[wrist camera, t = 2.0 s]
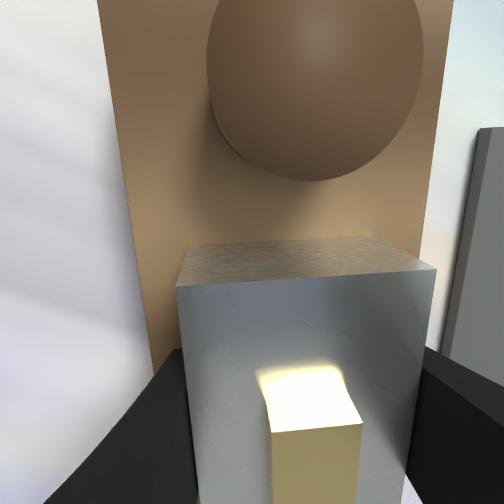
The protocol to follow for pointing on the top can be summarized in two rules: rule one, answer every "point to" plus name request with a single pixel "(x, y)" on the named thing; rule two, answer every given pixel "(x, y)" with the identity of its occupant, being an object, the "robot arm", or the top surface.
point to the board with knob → (270, 126)
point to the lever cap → (303, 367)
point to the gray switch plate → (480, 268)
